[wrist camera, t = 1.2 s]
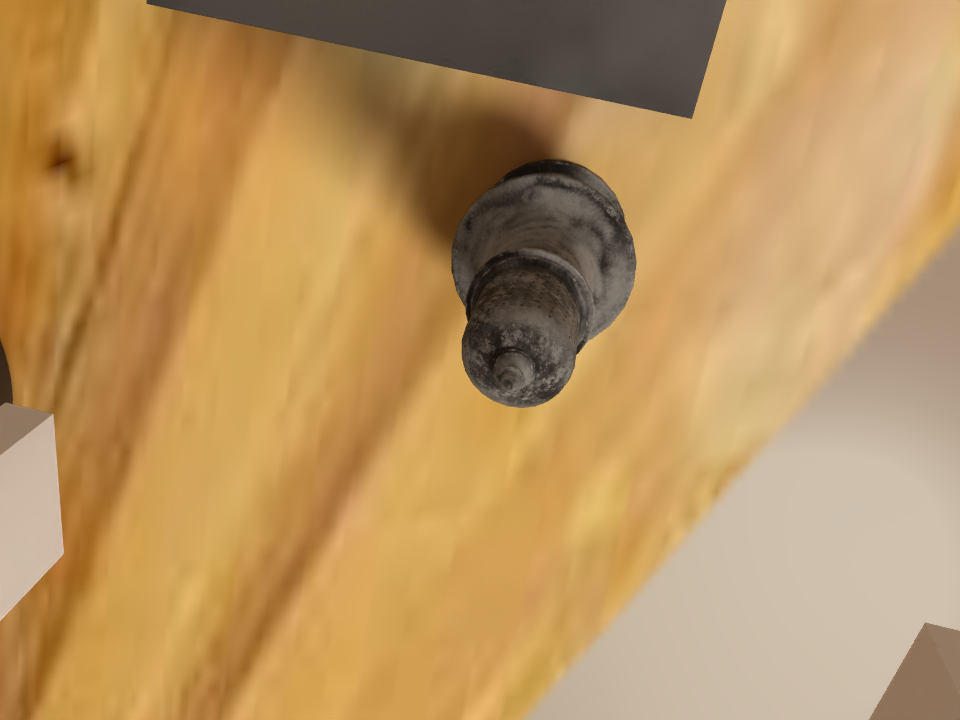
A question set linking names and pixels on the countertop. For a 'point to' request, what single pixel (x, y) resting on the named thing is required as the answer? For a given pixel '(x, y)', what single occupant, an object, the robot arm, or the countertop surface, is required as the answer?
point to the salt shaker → (539, 278)
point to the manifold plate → (516, 39)
